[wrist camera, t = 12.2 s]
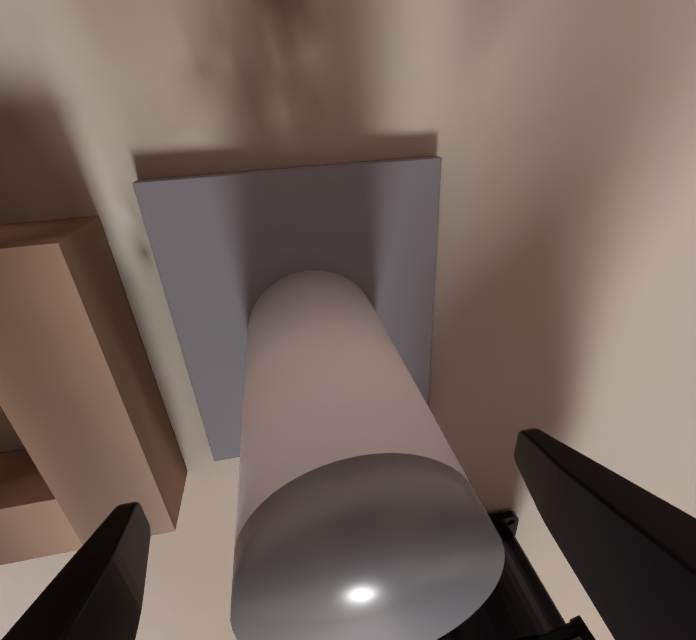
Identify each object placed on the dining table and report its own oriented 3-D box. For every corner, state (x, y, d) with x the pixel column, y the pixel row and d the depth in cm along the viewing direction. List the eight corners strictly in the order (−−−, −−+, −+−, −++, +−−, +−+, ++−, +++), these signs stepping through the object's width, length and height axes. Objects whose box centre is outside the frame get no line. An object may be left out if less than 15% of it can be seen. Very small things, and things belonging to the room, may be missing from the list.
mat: (435, 155, 14) (441, 157, 14) (422, 415, 20) (427, 423, 20) (137, 180, 13) (132, 183, 12) (215, 451, 19) (214, 461, 18)
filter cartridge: (373, 263, 15) (524, 475, 6) (375, 372, 18) (488, 634, 9) (236, 279, 14) (200, 540, 6) (258, 390, 17) (255, 694, 8)
